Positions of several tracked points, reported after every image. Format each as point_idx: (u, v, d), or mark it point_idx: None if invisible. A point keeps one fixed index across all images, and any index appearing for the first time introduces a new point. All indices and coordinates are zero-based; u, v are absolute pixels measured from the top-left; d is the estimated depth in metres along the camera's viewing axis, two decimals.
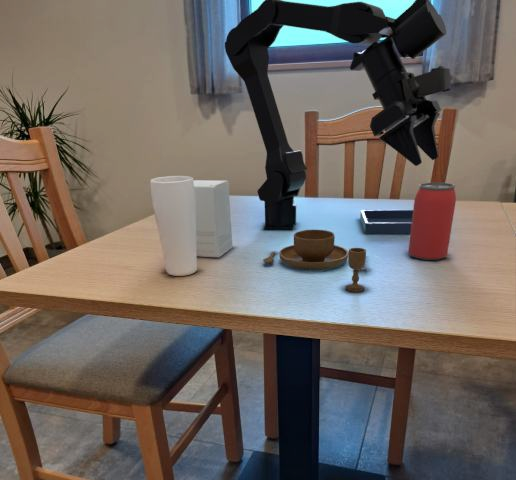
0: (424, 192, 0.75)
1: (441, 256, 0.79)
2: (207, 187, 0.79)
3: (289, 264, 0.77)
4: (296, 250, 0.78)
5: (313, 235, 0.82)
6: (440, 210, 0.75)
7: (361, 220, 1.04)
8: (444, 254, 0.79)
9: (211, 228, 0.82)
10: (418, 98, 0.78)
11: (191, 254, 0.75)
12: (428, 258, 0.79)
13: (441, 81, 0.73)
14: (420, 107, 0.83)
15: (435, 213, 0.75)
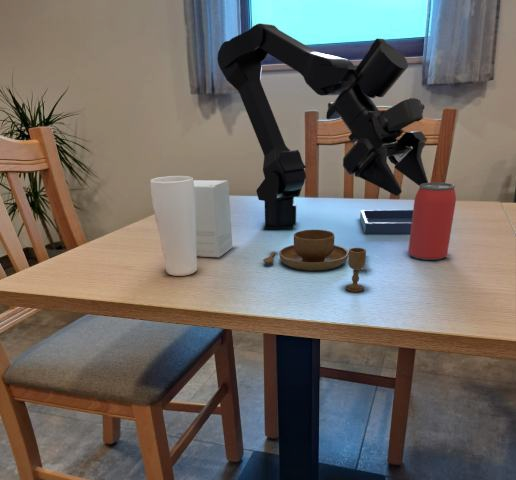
0: (424, 192, 0.75)
1: (441, 256, 0.79)
2: (207, 187, 0.79)
3: (289, 264, 0.77)
4: (296, 250, 0.78)
5: (313, 235, 0.82)
6: (440, 210, 0.75)
7: (361, 220, 1.04)
8: (444, 254, 0.79)
9: (211, 228, 0.82)
10: (393, 132, 0.78)
11: (191, 254, 0.75)
12: (428, 258, 0.79)
13: (407, 111, 0.73)
14: (403, 140, 0.83)
15: (436, 213, 0.75)
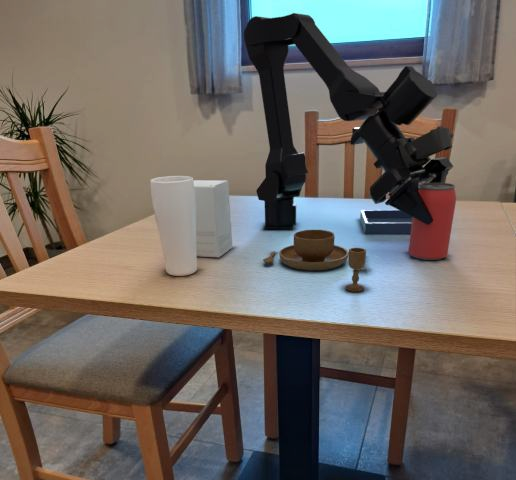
0: (424, 192, 0.75)
1: (441, 256, 0.79)
2: (207, 187, 0.79)
3: (289, 264, 0.77)
4: (296, 250, 0.78)
5: (313, 235, 0.82)
6: (440, 210, 0.75)
7: (361, 220, 1.04)
8: (444, 254, 0.79)
9: (211, 228, 0.82)
10: (420, 160, 0.77)
11: (191, 254, 0.75)
12: (428, 258, 0.79)
13: (437, 141, 0.72)
14: (429, 167, 0.81)
15: (436, 213, 0.75)
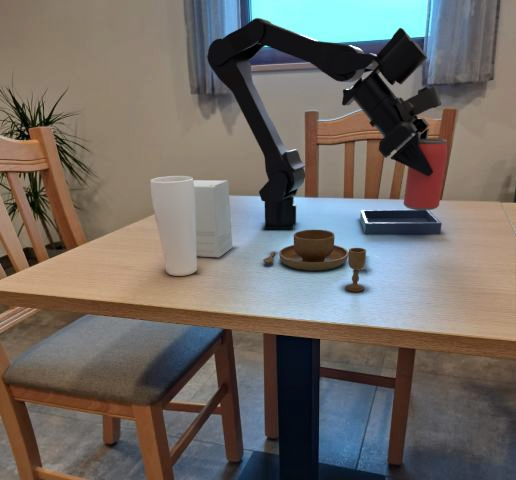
0: (423, 146, 0.82)
1: (437, 205, 0.87)
2: (207, 187, 0.79)
3: (289, 264, 0.77)
4: (296, 250, 0.78)
5: (313, 235, 0.82)
6: (439, 162, 0.83)
7: (361, 220, 1.04)
8: (438, 203, 0.88)
9: (211, 228, 0.82)
10: (413, 117, 0.84)
11: (191, 254, 0.75)
12: (427, 208, 0.87)
13: (435, 98, 0.79)
14: None
15: (435, 165, 0.83)
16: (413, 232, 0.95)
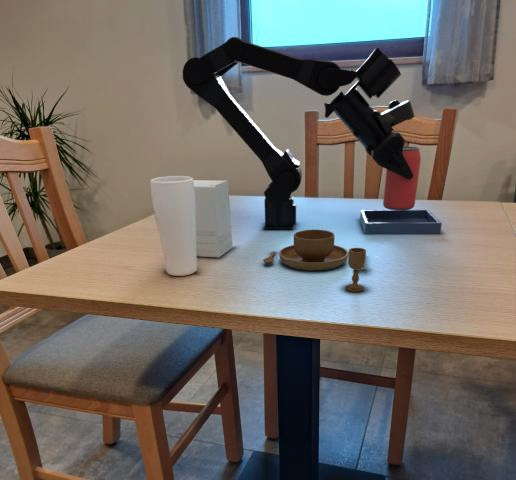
0: (403, 153, 0.92)
1: None
2: (207, 187, 0.79)
3: (289, 264, 0.77)
4: (296, 250, 0.78)
5: (313, 235, 0.82)
6: (416, 167, 0.93)
7: (361, 220, 1.04)
8: (414, 203, 0.98)
9: (211, 228, 0.82)
10: None
11: (191, 254, 0.75)
12: (408, 208, 0.97)
13: (411, 110, 0.89)
14: None
15: (414, 169, 0.93)
16: (413, 232, 0.95)
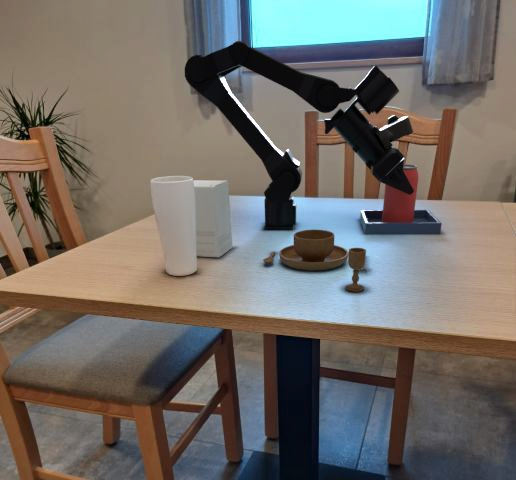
0: None
1: (412, 222, 1.00)
2: (207, 187, 0.79)
3: (289, 264, 0.77)
4: (296, 250, 0.78)
5: (313, 235, 0.82)
6: (414, 185, 0.95)
7: (361, 220, 1.04)
8: None
9: (211, 228, 0.82)
10: None
11: (191, 254, 0.75)
12: None
13: (410, 126, 0.90)
14: None
15: None
16: (413, 232, 0.95)
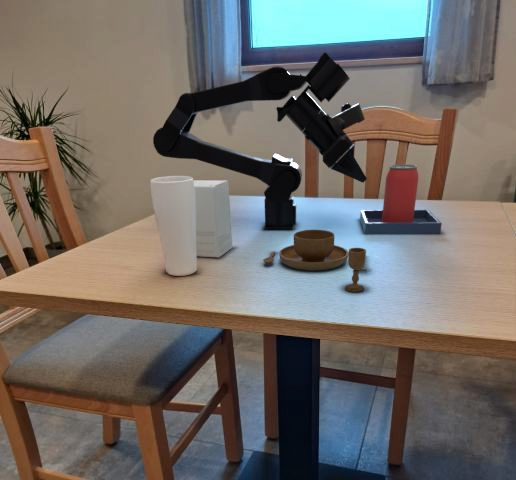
0: (401, 172, 0.94)
1: (412, 222, 1.00)
2: (207, 187, 0.79)
3: (289, 264, 0.77)
4: (296, 250, 0.78)
5: (313, 235, 0.82)
6: (414, 185, 0.95)
7: (361, 220, 1.04)
8: None
9: (211, 228, 0.82)
10: None
11: (191, 254, 0.75)
12: None
13: (361, 113, 0.90)
14: None
15: (412, 188, 0.95)
16: (413, 232, 0.95)
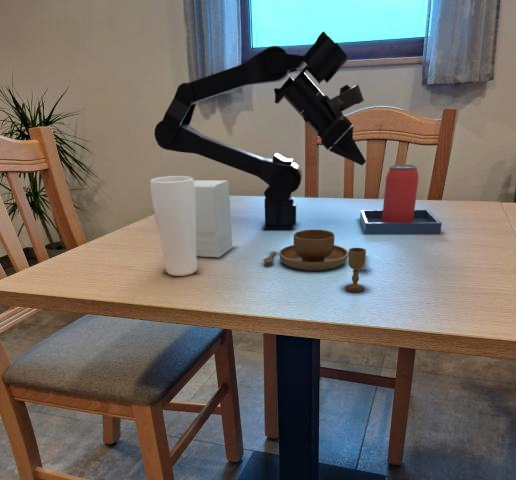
0: (401, 172, 0.94)
1: (412, 222, 1.00)
2: (207, 187, 0.79)
3: (289, 264, 0.77)
4: (296, 250, 0.78)
5: (313, 235, 0.82)
6: (414, 185, 0.95)
7: (361, 220, 1.04)
8: None
9: (211, 228, 0.82)
10: None
11: (191, 254, 0.75)
12: None
13: (360, 94, 0.89)
14: None
15: (412, 188, 0.95)
16: (413, 232, 0.95)
